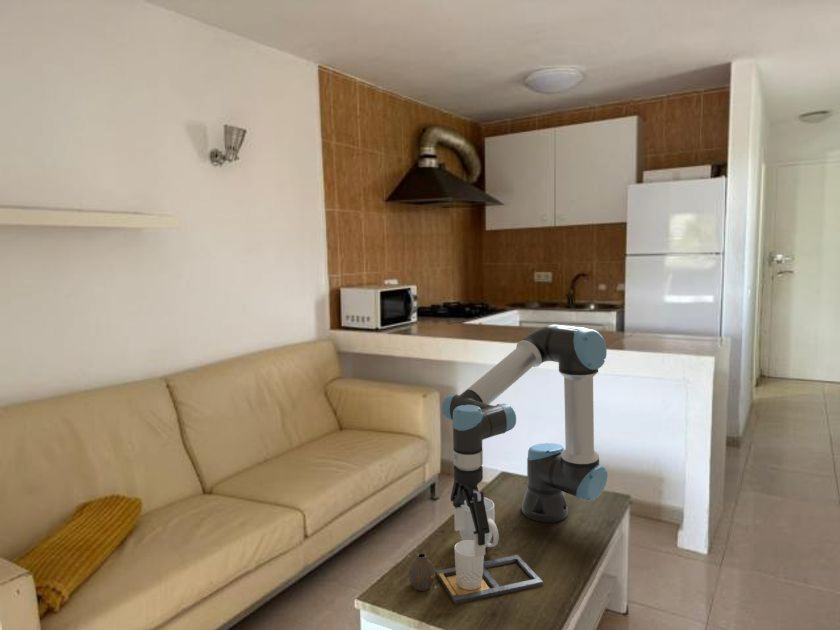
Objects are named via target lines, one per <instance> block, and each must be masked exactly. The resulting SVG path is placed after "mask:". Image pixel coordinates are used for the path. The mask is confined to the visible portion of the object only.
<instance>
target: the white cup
mask: <svg viewBox="0 0 840 630" xmlns="http://www.w3.org/2000/svg"><path fill="white" fill-rule="evenodd" d="M484 558H485V555H482V556H478V557H475V555H474V541H473V540H464V541H462V540H460V541H458V542H457V543H455V544H454V567H455V569H456V574H455V575H456V581H457V584H458V586H459V587H461V588H462V589H466V590H475V589H477V588H479V587H480V586H481V585H482V579H483V576H482V574H483V562H484V561H485V559H484Z"/></svg>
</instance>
